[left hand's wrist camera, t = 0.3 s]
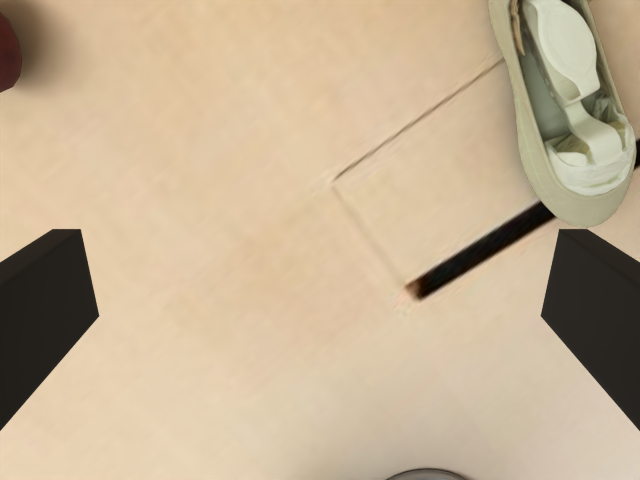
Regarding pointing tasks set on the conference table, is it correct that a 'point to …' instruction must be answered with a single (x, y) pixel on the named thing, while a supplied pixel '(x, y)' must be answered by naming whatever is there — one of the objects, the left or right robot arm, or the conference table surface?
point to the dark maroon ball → (8, 55)
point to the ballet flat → (565, 108)
